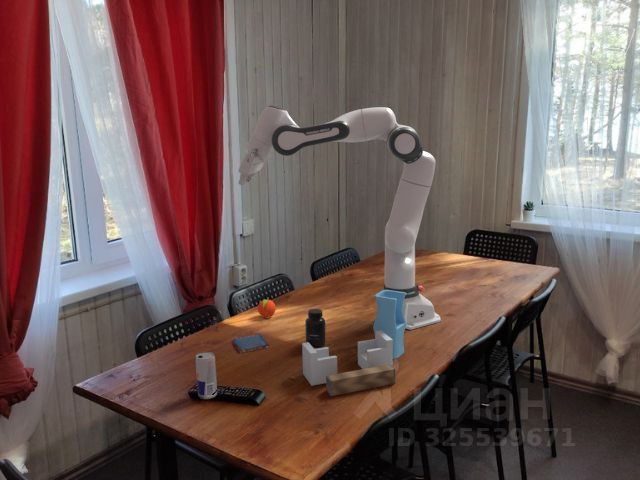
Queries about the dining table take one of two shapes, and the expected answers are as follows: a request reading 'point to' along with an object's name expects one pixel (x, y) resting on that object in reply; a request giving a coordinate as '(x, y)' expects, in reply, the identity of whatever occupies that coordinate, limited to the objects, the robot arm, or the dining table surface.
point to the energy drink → (206, 375)
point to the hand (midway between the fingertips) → (244, 183)
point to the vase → (391, 318)
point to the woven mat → (250, 343)
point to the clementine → (266, 308)
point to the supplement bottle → (315, 328)
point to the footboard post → (317, 364)
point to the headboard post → (375, 351)
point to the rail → (360, 379)
